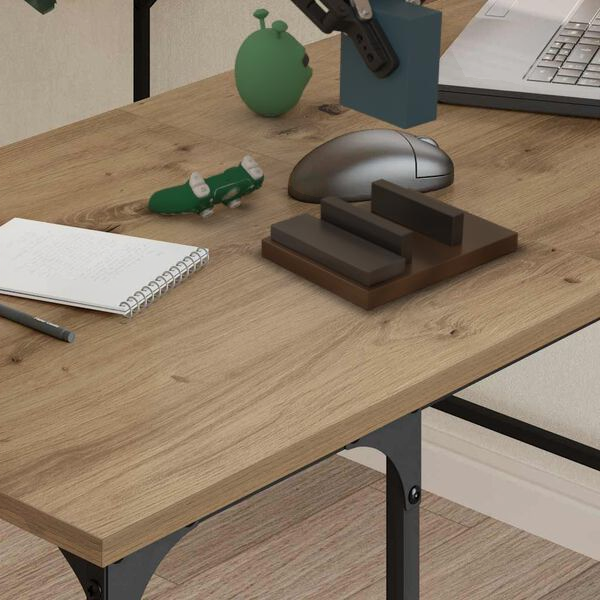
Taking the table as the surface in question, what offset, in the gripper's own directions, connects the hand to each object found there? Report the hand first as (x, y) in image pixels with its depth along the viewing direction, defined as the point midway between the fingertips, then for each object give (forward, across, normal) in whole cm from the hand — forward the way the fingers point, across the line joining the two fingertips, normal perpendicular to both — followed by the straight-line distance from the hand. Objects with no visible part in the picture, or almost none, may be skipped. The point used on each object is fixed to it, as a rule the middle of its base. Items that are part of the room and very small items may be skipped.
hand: (409, 66), depth 101 cm
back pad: (+1, 0, +4) cm, 5 cm away
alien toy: (-12, +15, +34) cm, 39 cm away
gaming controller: (-1, -4, +24) cm, 24 cm away
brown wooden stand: (+10, +1, +13) cm, 16 cm away
